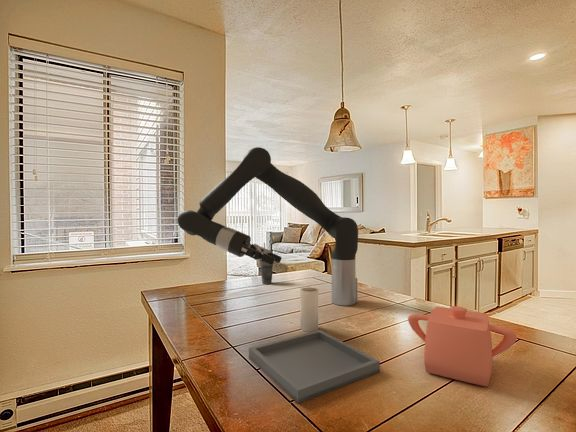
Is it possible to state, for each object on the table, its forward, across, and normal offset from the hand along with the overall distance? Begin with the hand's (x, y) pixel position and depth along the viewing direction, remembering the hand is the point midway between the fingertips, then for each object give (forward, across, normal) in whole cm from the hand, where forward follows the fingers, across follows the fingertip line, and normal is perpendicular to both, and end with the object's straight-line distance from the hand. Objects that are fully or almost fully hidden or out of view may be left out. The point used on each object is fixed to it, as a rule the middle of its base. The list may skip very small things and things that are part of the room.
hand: (277, 260), depth 102 cm
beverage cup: (-12, +55, +20) cm, 60 cm away
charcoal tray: (+22, -22, +16) cm, 35 cm away
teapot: (+53, -14, +3) cm, 55 cm away
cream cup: (+17, 0, +15) cm, 23 cm away
